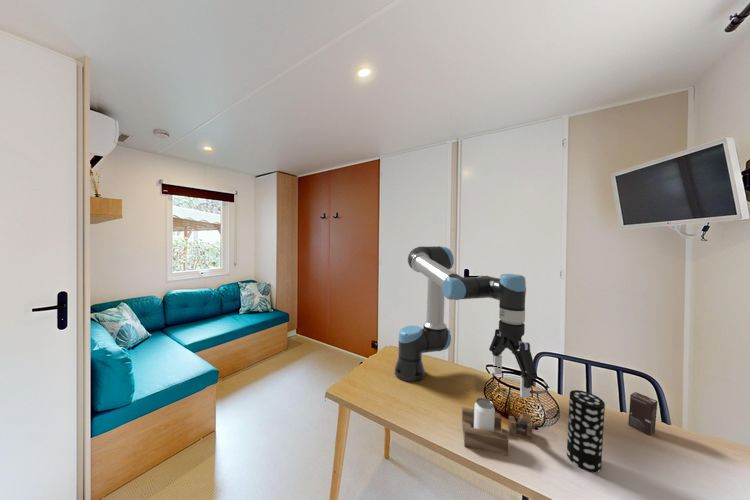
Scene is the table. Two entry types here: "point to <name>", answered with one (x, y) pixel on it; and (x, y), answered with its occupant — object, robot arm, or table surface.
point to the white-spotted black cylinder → (585, 430)
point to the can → (484, 415)
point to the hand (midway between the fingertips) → (510, 384)
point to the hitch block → (490, 433)
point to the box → (642, 413)
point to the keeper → (523, 421)
